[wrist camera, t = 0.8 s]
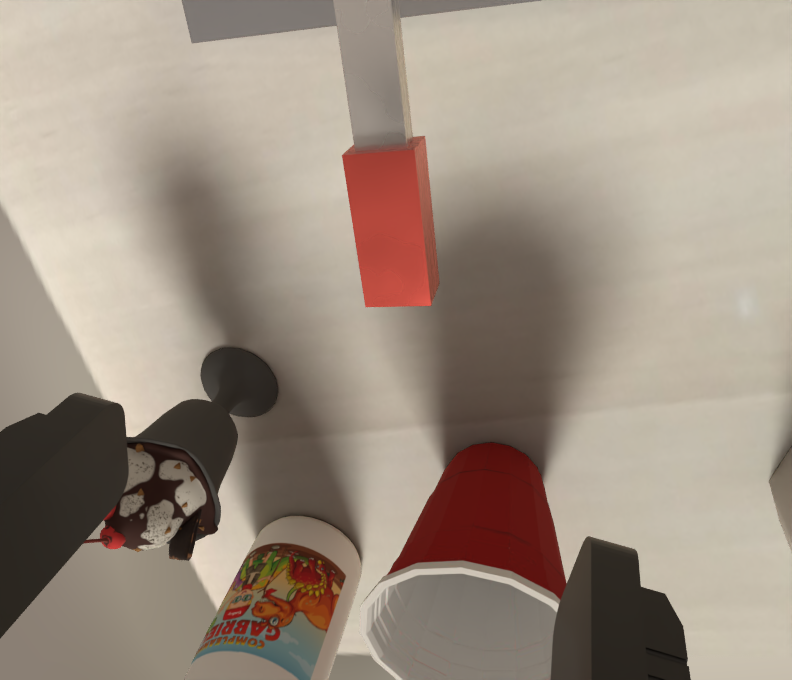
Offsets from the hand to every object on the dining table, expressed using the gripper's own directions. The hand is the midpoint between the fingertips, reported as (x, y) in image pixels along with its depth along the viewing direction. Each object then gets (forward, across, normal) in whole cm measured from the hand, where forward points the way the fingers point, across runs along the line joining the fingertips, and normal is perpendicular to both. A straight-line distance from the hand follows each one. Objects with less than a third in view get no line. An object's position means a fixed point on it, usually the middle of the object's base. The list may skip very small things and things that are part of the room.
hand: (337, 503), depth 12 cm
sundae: (+24, +12, +16) cm, 32 cm away
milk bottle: (+24, +7, +30) cm, 39 cm away
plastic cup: (+25, -4, +19) cm, 31 cm away
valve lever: (+13, +3, -5) cm, 14 cm away
